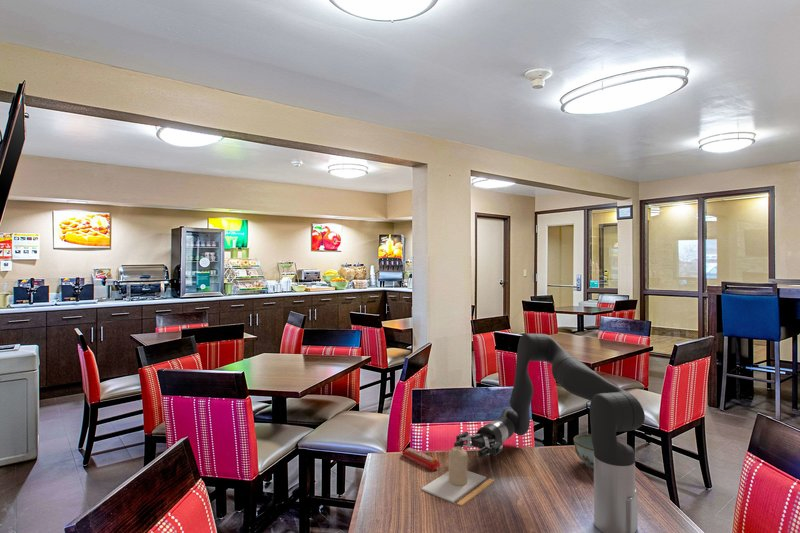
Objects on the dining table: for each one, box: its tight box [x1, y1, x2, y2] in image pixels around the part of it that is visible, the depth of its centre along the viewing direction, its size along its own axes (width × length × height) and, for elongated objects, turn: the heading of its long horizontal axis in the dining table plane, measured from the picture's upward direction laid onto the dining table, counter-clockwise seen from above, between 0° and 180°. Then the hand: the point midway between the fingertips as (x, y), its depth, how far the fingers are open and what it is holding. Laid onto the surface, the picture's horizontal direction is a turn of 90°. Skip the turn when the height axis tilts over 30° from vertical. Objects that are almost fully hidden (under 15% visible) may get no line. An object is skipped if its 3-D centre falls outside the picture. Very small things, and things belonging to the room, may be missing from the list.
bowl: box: [573, 433, 594, 471], centre depth 144 cm, size 14×13×8 cm
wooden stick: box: [456, 478, 495, 507], centre depth 128 cm, size 2×18×1 cm, turn 140°
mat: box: [421, 470, 487, 504], centre depth 133 cm, size 11×18×1 cm, turn 140°
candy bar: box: [401, 447, 441, 471], centre depth 148 cm, size 16×4×3 cm, turn 41°
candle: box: [448, 446, 468, 486], centre depth 134 cm, size 6×6×10 cm
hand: (467, 450), depth 138 cm, fingers open, 8 cm apart
